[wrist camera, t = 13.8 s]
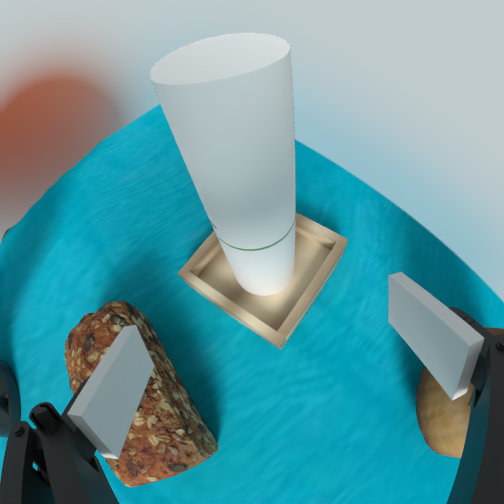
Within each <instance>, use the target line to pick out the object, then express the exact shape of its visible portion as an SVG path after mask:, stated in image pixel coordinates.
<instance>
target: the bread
mask: <svg viewBox="0 0 504 504" xmlns="http://www.w3.org/2000/svg"><path fill="white" fill-rule="evenodd" d="M132 325H136V326H137V328H138V331H139V333H140V335H141V338H142V340H143V342H144V344H145V347H146V349H147V351H148V353H149V355H150V357H151V360H152V362H153V364H154V368H153V371H152V373H151V376H150V378H149V381H148V383H147V385H146V388H145V390H144V393H143V395H142V398H141V400H140V403H139V406H138V408H137V411H136V413H135V416H134V418H133V421H132V424H131V426H130V429H129V432H128V434H127V437H126V440H125V442H124V445H123V448H122V451H121V453H120V456H119V459H113V458H107V457H105V459H106V462H107V463H108V464H109V465H110V466H111V469H112V470H113V472H114V473H115V474H116V476H117V477H118V478H119V479H120V480H121V481H122V482H123V483H124V485H126V486H128V487H129V488H130V487H134V486H140V485H144V484H147V483H152V482H156V481H159V480H162V479H165V478H169V477H172V476H174V475H177V474H179V473H182V472H184V471H186V470H187V469H189V468H192V467H194V466H196V465H198V464H200V463H202V462H203V461H205V460H206V459H208V458H209V457H211V456H212V455H213V454H214V453H215V452H217V451H218V449H217V448H218V445H217V442H216V440H215V438H214V436H213V435H212V433H211V432H210V431H209V430H208V428H207V426H206V424H205V423H204V421H203V420H202V418H201V417H200V415H199V413H198V411H197V409H196V407H195V405H194V404H193V401H192V400H191V399H190V397H189V395H188V393H187V391H186V389H185V387H184V386H183V384H182V382H181V380H180V378H179V376H178V374H177V372H176V370H175V369H174V367H173V365H172V363H171V361H170V359H169V358H168V357H167V356H166V353H165V350H164V348H163V346H162V344H161V342H160V340H159V339H158V338H157V335H156V333H155V331H154V330H153V327H152V325H151V324H150V322H149V320H148V318H147V317H146V316H144V315H143V314H142V313H141V311H140V310H138V309H136V308H135V306H131V305H130V304H129V303H128V302H125V301H115V302H108V303H106V304H105V306H103V307H102V308H100V309H99V310H98V311H97V312H96V313H88V314H86V315H85V316H84V317H83V318H82V319H81V321H80V322H79V324H78V325H76V327H75V328H73V329H71V330H70V332H69V336H68V338H67V340H66V341H65V354H64V355H65V360H66V369H67V371H68V374H69V381H70V387H71V389H72V391H73V395H74V394H75V393H76V392H77V389H78V388H79V386H80V385H81V383H82V382H83V381H85V380H86V379H87V378H88V377H90V376H91V375H92V373H93V372H94V370H95V369H96V367H97V366H98V364H99V363H100V361H101V360H102V358H103V357H104V355H105V354H106V352H107V351H108V349H109V348H110V346H111V345H112V343H113V342H114V340H115V339H116V337H117V336H118V334H119V333H120V332H121V330H122V329H123V327H124V326H132Z"/></svg>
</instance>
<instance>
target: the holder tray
mask: <svg viewBox="0 0 504 504" xmlns="http://www.w3.org/2000/svg"><path fill="white" fill-rule="evenodd" d="M347 241H348V239H347V238H345V237H343V236H341V235H339V234H337V233H335V232H333V231H332V230H330V229H328V228H326V227H324V226H322V225H320V224H318V223H316V222H314V221H312V220H310V219H308V218H306V217H304V216H302V215H301V214H299V213H297V212H296V213H295V270H294V275H293V278H292V280H291V281H290V283H289V284H288V285H287V286H286V287H285V288H284V289H283V290H282V291H280V292H278V293H276V294H273V295H269V296H259V295H254V294H251V293H249V292H247V291H246V290H244V289H243V288H242V287H241V286H240V284H239V283H238V281H237V279H236V277H235V275H234V273H233V271H232V268H231V266H230V264H229V262H228V260H227V257H226V255H225V253H224V251H223V249H222V246H221V244H220V242H219V240H218V238H217V235H216V233H215V231H213V232H212V233H211V234H210V236H209V237H208V238H207V239H206V240H205V241H204V243H203V244H202V245H201V246H200V247H199V248H198V250H197V251H196V252H195V253H194V254H193V256H192V257H191V258H190V259H189V260H188V262H187V263H186V264H185V265H184V266H183V268H182V269H181V270H180V271H179V272H178V274H179V275H180V277H181V278H182V279H183V280H184V281H185V282H186V283H187V284H188V285H189V286H190V287H192V288H193V289H194V290H196V291H197V292H198V293H200V294H201V295H202V296H204V297H205V298H206V299H208V300H209V301H210V302H212V303H213V304H215V305H216V306H217V307H219V308H220V309H222V310H223V311H224V312H226V313H227V314H229V315H230V316H231V317H233V318H234V319H236V320H237V321H239V322H240V323H241V324H243V325H244V326H246V327H247V328H249V329H250V330H252V331H253V332H255V333H256V334H258V335H259V336H261V337H262V338H264V339H265V340H267V341H268V342H270V343H271V344H273V345H274V346H276V347H277V348H279V349H280V350H281V349H282V348H283V346H284V345H285V344H286V342H287V341H288V339H289V338H290V336H291V335H292V333H293V332H294V331H295V329H296V328H297V326H298V325H299V323H300V322H301V320H302V319H303V317H304V316H305V314H306V313H307V311H308V310H309V308H310V307H311V305H312V304H313V302H314V301H315V299H316V298H317V296H318V294H319V293H320V291H321V290H322V288H323V287H324V285H325V283H326V282H327V280H328V279H329V277H330V275H331V274H332V272H333V270H334V269H335V267H336V265H337V264H338V262H339V260H340V259H341V257H342V255H343V254H344V251H345V248H346V245H347Z"/></svg>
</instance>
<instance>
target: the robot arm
mask: <svg viewBox="0 0 504 504" xmlns="http://www.w3.org/2000/svg"><path fill="white" fill-rule="evenodd" d="M388 322H389V323H390V324H391V325H392V326H393V327H394V329H395V330H396V331H397V332H398V333H399V334H400V336H401V337H402V338H403V339H404V340H405V342H406V343H407V344H408V345H409V346H410V348H411V349H412V350H413V351H414V353H415V354H416V355H417V356H418V357H419V359H420V360H421V361H422V362H423V364H424V365H425V366H426V367H427V369H428V370H429V371H430V372H431V374H432V375H433V376H434V378H435V379H436V380H437V381H438V383H439V384H440V385H441V387H442V388H443V389H444V391H445V392H446V393H447V394H448V396H449V397H450V398H451V400H452V401H453V400H454V399H456V398H458V397H460V396H462V395H463V394H465V393H466V392H467V390H468V387H469V384H470V382H471V383H472V384H473V386H474V387H475V388H474V391H473V393H472V395H471V398H470V400H469V402H468V405H467V406H470V404H471V410H470V417H469V423H468V429H467V434H466V439H465V444H464V448H463V452H462V456H461V460H460V464H459V468H458V471H457V475H456V478H455V481H454V484H453V487H452V490H451V493H450V496H449V499H448V501H447V504H504V335H497V336H493V335H492V334H491V333H490V332H489V331H487V330H486V329H485V328H484V327H483V326H481V325H480V324H479V323H478V322H475V320H474V319H473V318H471V317H469V315H468V314H466V313H465V312H464V311H463V310H460V309H458V308H455V307H451V308H448V307H446V306H445V305H444V304H443V303H441V302H440V301H439V300H438V299H436V298H435V297H434V296H432V295H431V294H430V293H429V292H427V291H426V290H425V289H423V288H422V287H421V286H419V285H418V284H417V283H415V282H414V281H413V280H411V279H410V278H409V277H407V276H406V275H405V274H403V273H402V272H399V273H395V274H391V275H389V306H388ZM153 368H154V364H153V362H152V360H151V357H150V355H149V353H148V351H147V349H146V347H145V344H144V342H143V340H142V338H141V335H140V333H139V331H138V328H137V326H136V325H132V326H124V327H123V329H122V330H121V332H120V333H119V334H118V336H117V337H116V339H115V340H114V342H113V343H112V345H111V346H110V348H109V349H108V351H107V352H106V354H105V355H104V357H103V358H102V360H101V361H100V363H99V364H98V366H97V367H96V369H95V370H94V372H93V373H92V375H91V376H90V377H88V378H87V379H86V380H85V381H83V382H82V383H81V385H80V386H79V388H78V389H77V392H76V393H75V394H74V396H73V398H72V399H71V400H70V402H69V404H68V405H67V407H66V408H65V410H64V412H63V413H62V415H61V416H60V414H59V413H58V412H57V410H56V409H55V408H54V406H53V405H52V404H51V403H49V402H43V403H40V404H38V405H36V406H35V407H34V408H33V409H32V410H31V412H30V414H29V418H30V420H31V421H32V422H33V423H34V425H35V426H36V427H37V428H38V429H33V428H32V427H31V426H30V425H29V424H28V422H26V421H20V399H19V393H18V388H17V384H16V381H15V378H14V376H13V373H12V371H11V370H10V368H9V367H8V365H7V364H6V363H4V362H3V361H0V437H7V438H8V441H7V446H6V450H5V456H4V461H3V467H2V474H1V482H0V504H119V502H118V500H117V498H116V496H115V494H114V492H113V491H112V489H111V487H110V484H109V482H108V480H107V478H106V476H105V474H104V472H103V470H102V467H101V465H100V463H99V460H98V459H97V457H96V456H95V455H94V454H95V451H96V449H97V450H98V451H99V452H100V453H101V454H102V456H103V457H107V458H113V459H119V456H120V453H121V451H122V448H123V445H124V442H125V440H126V437H127V434H128V432H129V429H130V426H131V424H132V421H133V418H134V416H135V413H136V411H137V408H138V406H139V403H140V400H141V398H142V395H143V393H144V390H145V388H146V385H147V383H148V381H149V378H150V376H151V373H152V371H153ZM471 402H472V403H471ZM33 462H34V463H35V464H36V465H37V466H38V469H37V471H36V470H35V469H34V468H33Z"/></svg>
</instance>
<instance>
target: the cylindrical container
mask: <svg viewBox="0 0 504 504" xmlns="http://www.w3.org/2000/svg"><path fill="white" fill-rule="evenodd" d="M149 76H150V79H151V81H152V84H153V86H154V89H155V91H156V94H157V96H158V99H159V101H160V104H161V106H162V109H163V111H164V114H165V116H166V119H167V121H168V123H169V126H170V128H171V131H172V133H173V136H174V138H175V140H176V143H177V145H178V148H179V150H180V152H181V155H182V157H183V160H184V162H185V164H186V167H187V169H188V171H189V174H190V176H191V178H192V181H193V183H194V185H195V188H196V190H197V192H198V195H199V197H200V199H201V201H202V204H203V206H204V208H205V211H206V213H207V215H208V217H209V220H210V222H211V224H212V226H213V229H214V231H215V233H216V235H217V238H218V240H219V242H220V244H221V246H222V249H223V251H224V253H225V255H226V257H227V260H228V262H229V264H230V266H231V268H232V271H233V273H234V275H235V277H236V279H237V281H238V283H239V284H240V286H241V287H242V288H243V289H244V290H246V291H247V292H249V293H251V294H254V295H259V296H269V295H273V294H276V293H278V292H280V291H282V290H283V289H284V288H285V287H286V286H287V285H288V284H289V283H290V281H291V280H292V278H293V275H294V270H295V213H296V192H295V135H294V106H293V87H292V68H291V53H290V46H289V44H288V42H286V41H285V40H284V39H282V38H279V37H277V36H273V35H269V34H262V33H234V34H225V35H219V36H214V37H210V38H206V39H202V40H199V41H196V42H193V43H190V44H188V45H185V46H183V47H181V48H179V49H176V50H174V51H173V52H171V53H169V54H167V55H166V56H165V57H163V58H162V59H160V60H159V61H158V62H157V63H156V64H155V65H154V66H153V68H152V69H151V70H150V75H149Z"/></svg>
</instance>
